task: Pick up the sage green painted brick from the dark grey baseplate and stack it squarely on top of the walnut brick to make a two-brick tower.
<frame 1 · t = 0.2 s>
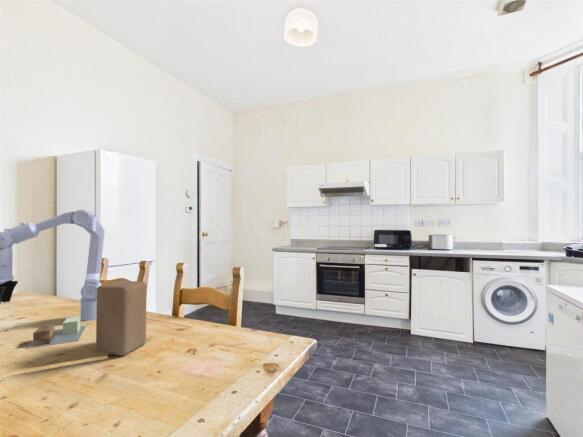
hand: (0, 304, 104), 10 cm above the table, tool pointing down, fingers open, 7 cm apart
block: (121, 349, 91), on the table
green brick: (71, 331, 102), point 1 cm above the table, touching baseplate
baseplate: (58, 339, 98), on the table
walnut brick: (44, 341, 94), point 1 cm above the table, touching baseplate
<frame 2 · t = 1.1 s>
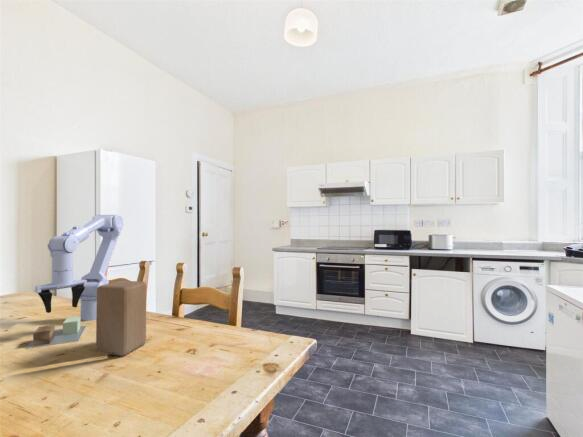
hand: (61, 309, 103), 9 cm above the table, tool pointing down, fingers open, 7 cm apart
nothing on the table moved.
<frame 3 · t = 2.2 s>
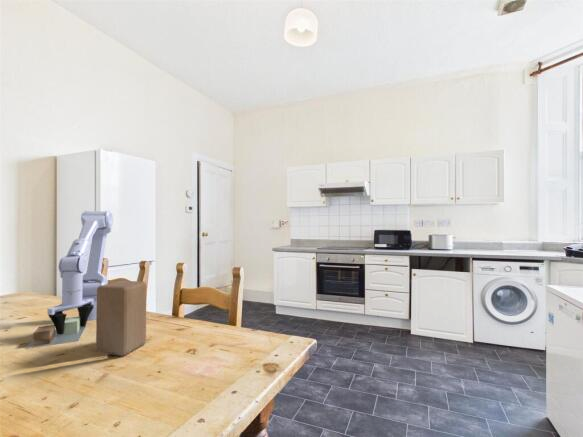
hand: (71, 330, 102), 2 cm above the table, tool pointing down, fingers closed on green brick, 7 cm apart
green brick: (71, 331, 102), point 1 cm above the table, touching baseplate, gripper
everything else where it was.
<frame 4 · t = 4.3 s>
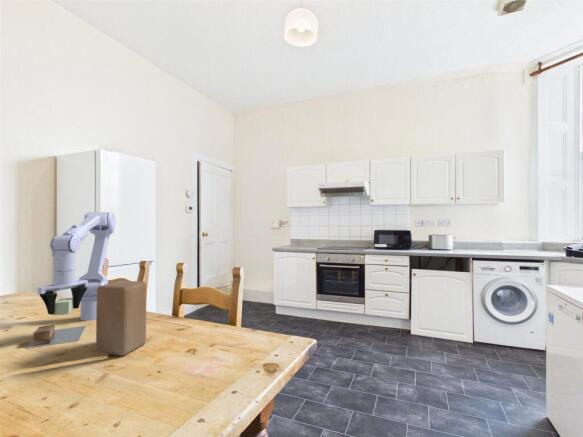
hand: (63, 311, 100), 9 cm above the table, tool pointing down, fingers closed on green brick, 7 cm apart
green brick: (64, 312, 100), point 9 cm above the table, touching gripper
everything else where it was.
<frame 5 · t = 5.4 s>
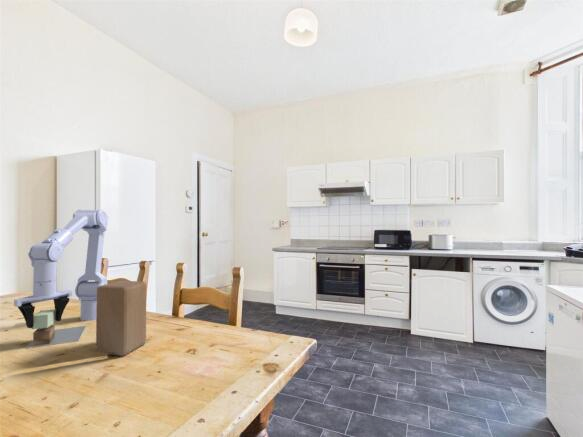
hand: (44, 323, 94), 7 cm above the table, tool pointing down, fingers closed on green brick, 7 cm apart
green brick: (44, 325, 94), point 6 cm above the table, touching gripper
everything else where it was.
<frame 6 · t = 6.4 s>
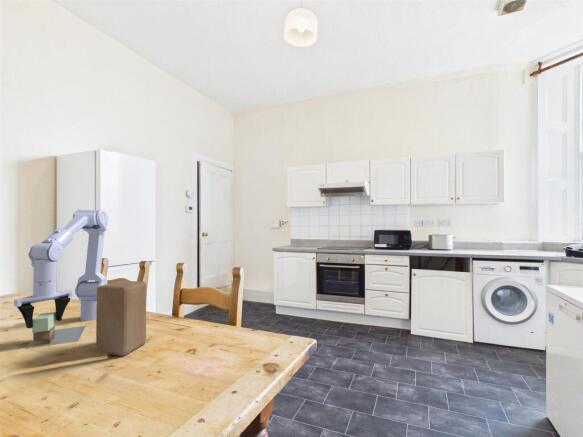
hand: (44, 323, 94), 7 cm above the table, tool pointing down, fingers closed on green brick, 7 cm apart
green brick: (44, 328, 94), point 5 cm above the table, touching gripper, walnut brick
walnut brick: (44, 341, 94), point 1 cm above the table, touching baseplate, green brick
everything else where it was.
when the fingers open (7 cm above the table, at t = 6.4 s): green brick stays where it is, resting on walnut brick.
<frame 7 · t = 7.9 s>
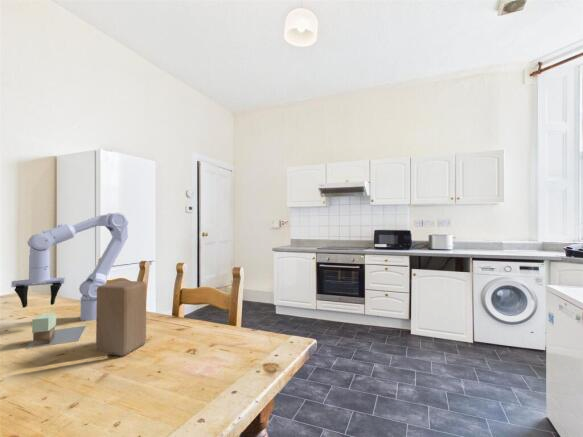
hand: (38, 305, 105), 9 cm above the table, tool pointing down, fingers open, 7 cm apart
green brick: (44, 328, 94), point 5 cm above the table, touching walnut brick
everything else where it was.
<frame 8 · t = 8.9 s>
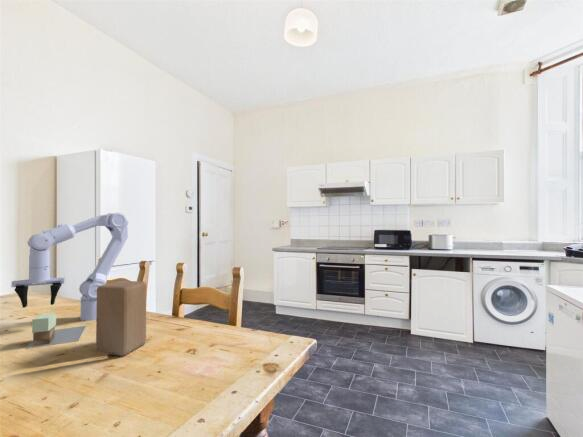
hand: (38, 305, 105), 9 cm above the table, tool pointing down, fingers open, 7 cm apart
nothing on the table moved.
at the end: green brick 0.0 cm off-centre on the walnut brick, point 4.0 cm above the walnut brick's base; green brick tilted 0°; walnut brick moved 0.0 cm from its start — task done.
